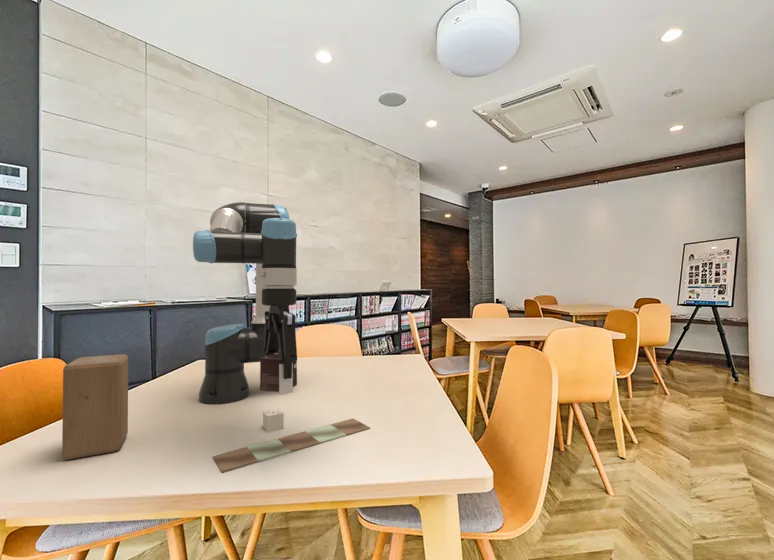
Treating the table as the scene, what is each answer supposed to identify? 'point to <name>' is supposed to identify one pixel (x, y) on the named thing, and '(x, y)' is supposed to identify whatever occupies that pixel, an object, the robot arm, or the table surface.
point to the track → (286, 444)
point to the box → (273, 373)
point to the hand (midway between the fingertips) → (279, 388)
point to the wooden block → (94, 405)
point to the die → (273, 420)
